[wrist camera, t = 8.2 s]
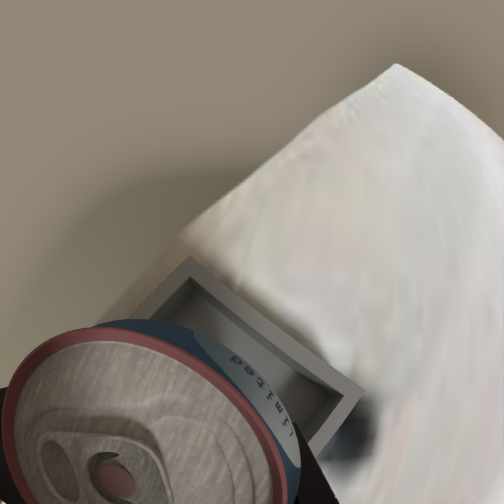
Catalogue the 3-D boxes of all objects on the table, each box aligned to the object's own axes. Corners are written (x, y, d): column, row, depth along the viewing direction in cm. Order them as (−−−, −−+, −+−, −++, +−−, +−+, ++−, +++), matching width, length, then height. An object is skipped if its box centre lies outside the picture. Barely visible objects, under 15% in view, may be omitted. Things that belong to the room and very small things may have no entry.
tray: (341, 390, 18) (364, 390, 14) (222, 521, 13) (220, 545, 9) (196, 278, 21) (189, 255, 18) (82, 401, 16) (54, 402, 12)
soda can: (246, 351, 15) (271, 262, 5) (273, 459, 12) (348, 578, 2) (132, 367, 14) (-23, 309, 4) (156, 474, 11) (41, 568, 1)
